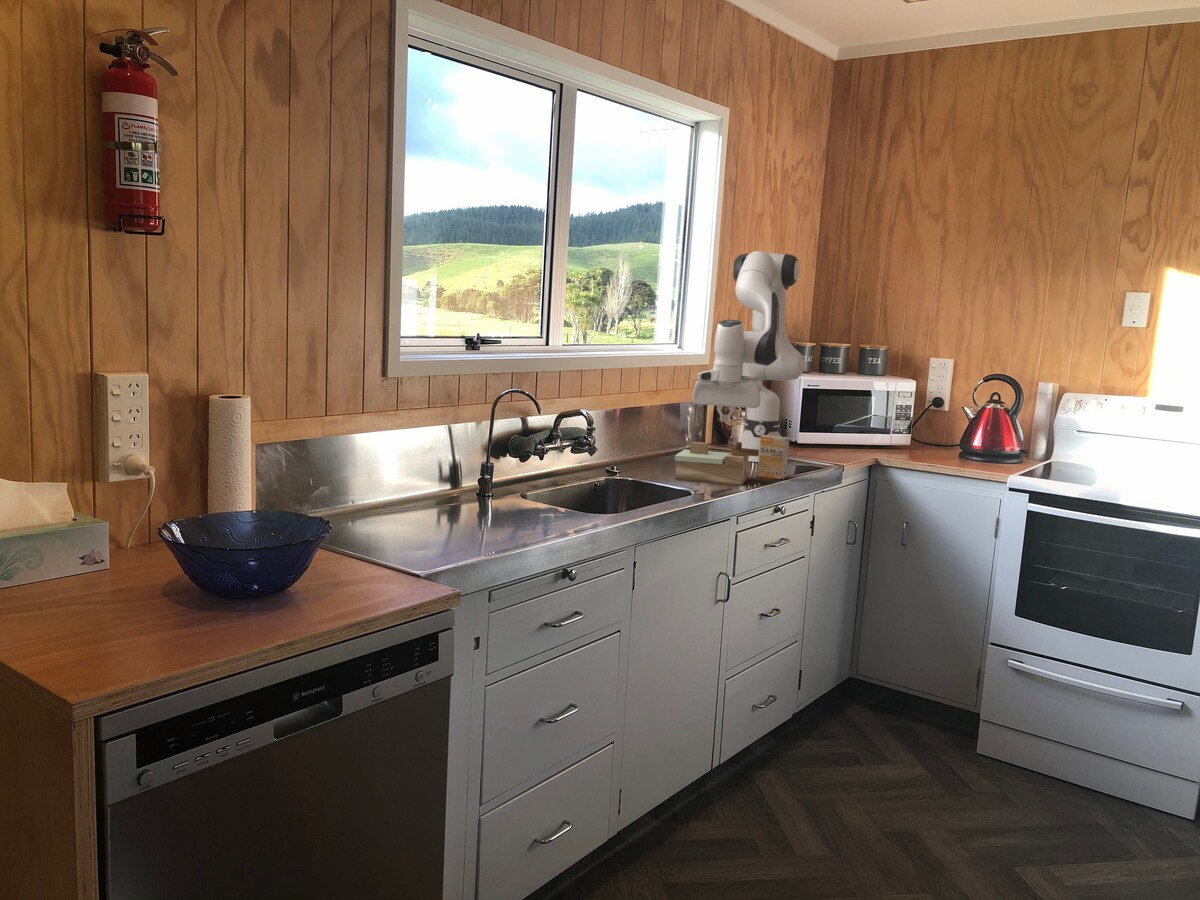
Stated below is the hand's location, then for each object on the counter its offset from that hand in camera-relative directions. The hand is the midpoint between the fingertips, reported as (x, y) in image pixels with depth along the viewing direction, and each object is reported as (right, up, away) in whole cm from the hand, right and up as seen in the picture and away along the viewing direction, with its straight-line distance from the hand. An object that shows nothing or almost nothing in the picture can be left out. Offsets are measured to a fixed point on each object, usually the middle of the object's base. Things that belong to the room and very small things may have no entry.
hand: (725, 421), depth 289 cm
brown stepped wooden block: (+6, -10, -1) cm, 12 cm away
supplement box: (+16, -18, +13) cm, 27 cm away
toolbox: (-3, -18, +6) cm, 19 cm away
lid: (-6, -12, +6) cm, 14 cm away
